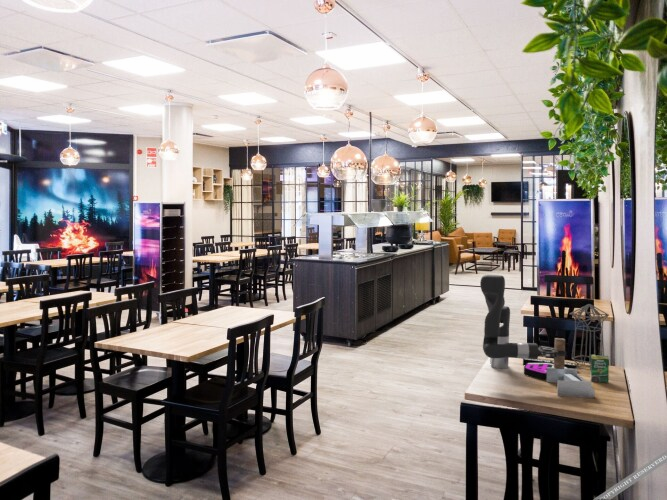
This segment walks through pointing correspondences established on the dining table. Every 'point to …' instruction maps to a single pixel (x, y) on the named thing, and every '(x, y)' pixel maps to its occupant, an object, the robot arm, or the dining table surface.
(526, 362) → the sign
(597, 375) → the coffee box
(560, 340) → the walnut board
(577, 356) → the geometric lantern
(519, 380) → the dining table surface
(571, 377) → the offcut stack
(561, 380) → the rack
